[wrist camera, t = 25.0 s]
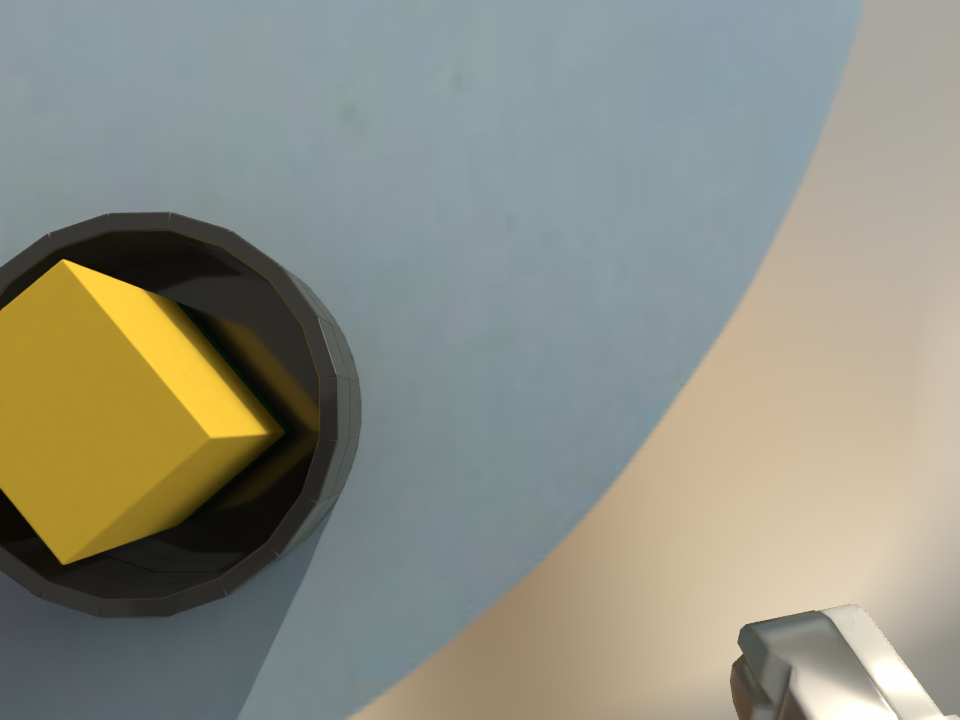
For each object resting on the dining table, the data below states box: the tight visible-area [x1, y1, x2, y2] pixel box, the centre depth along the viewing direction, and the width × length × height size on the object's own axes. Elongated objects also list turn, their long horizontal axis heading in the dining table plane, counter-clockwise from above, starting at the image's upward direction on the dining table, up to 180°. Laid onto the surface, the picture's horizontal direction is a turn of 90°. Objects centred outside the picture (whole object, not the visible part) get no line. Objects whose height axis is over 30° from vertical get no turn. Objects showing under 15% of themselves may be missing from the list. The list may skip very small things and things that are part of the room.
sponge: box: [0, 259, 291, 565], centre depth 24 cm, size 6×5×8 cm
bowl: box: [0, 212, 361, 618], centre depth 26 cm, size 12×12×4 cm
